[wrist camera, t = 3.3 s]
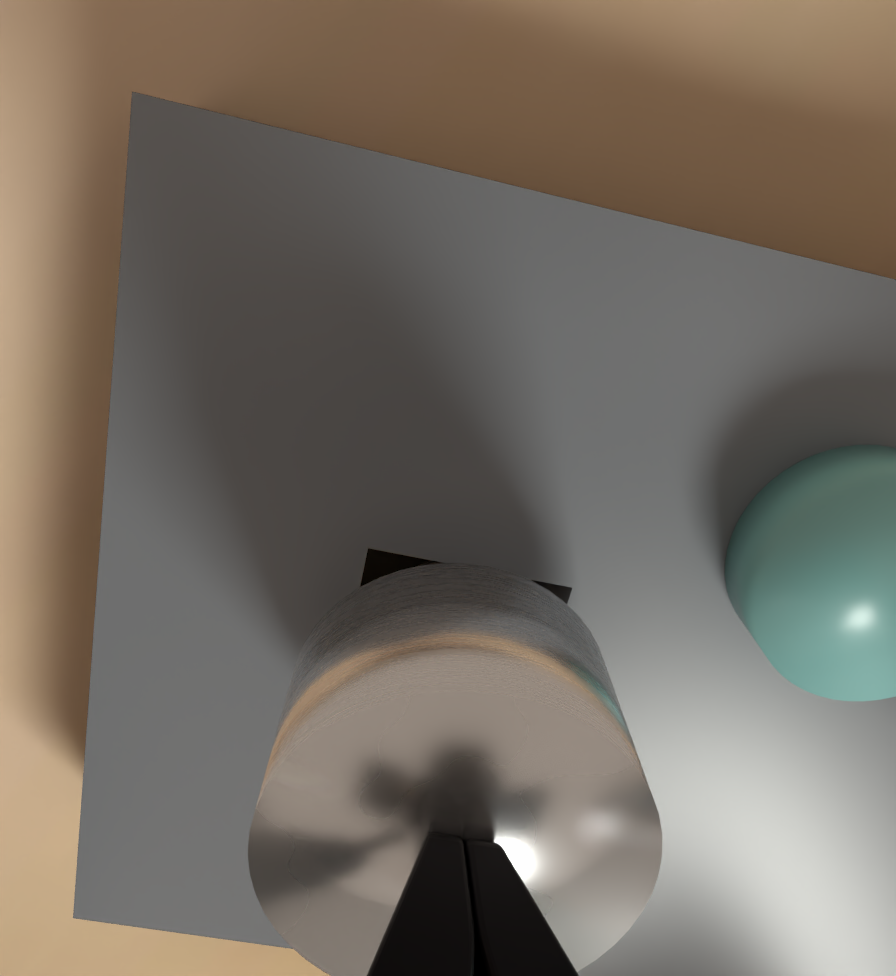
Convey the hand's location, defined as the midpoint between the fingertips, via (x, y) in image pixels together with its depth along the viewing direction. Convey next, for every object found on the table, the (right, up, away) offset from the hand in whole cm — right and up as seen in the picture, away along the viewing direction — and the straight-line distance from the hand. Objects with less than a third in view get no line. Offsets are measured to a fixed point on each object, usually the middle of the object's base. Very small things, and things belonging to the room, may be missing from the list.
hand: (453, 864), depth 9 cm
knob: (0, +2, +6) cm, 7 cm away
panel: (+5, +1, +7) cm, 9 cm away
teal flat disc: (+6, +3, +3) cm, 8 cm away
